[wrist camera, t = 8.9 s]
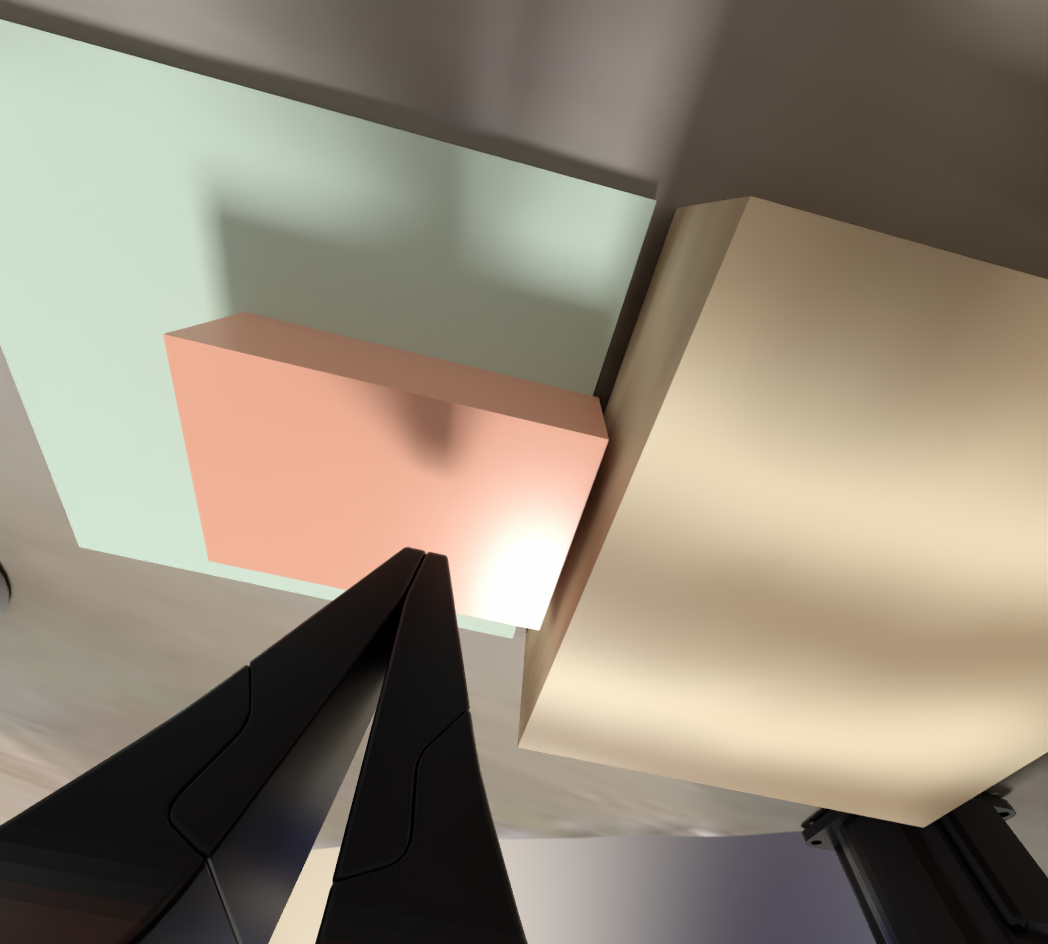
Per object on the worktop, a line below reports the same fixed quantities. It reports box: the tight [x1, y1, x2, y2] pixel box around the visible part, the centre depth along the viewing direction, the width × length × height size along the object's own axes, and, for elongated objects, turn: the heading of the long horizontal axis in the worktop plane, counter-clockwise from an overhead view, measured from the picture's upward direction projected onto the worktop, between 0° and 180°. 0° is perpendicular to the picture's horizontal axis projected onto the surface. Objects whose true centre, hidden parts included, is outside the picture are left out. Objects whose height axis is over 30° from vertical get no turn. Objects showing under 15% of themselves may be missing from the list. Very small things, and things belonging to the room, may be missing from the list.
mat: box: [0, 19, 657, 639], centre depth 12 cm, size 14×16×1 cm
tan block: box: [518, 196, 1048, 828], centre depth 11 cm, size 14×13×4 cm
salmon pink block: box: [163, 312, 609, 630], centre depth 11 cm, size 6×9×2 cm, turn 77°
